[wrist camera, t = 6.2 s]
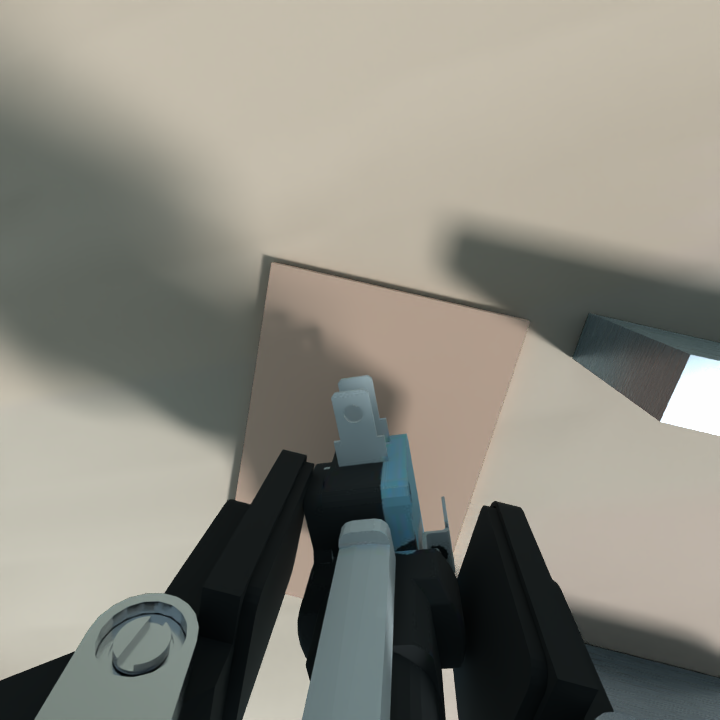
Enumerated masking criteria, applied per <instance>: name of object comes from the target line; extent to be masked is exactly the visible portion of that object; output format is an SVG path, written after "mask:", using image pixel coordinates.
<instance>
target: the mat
mask: <svg viewBox="0 0 720 720" xmlns="http://www.w3.org/2000/svg"><path fill="white" fill-rule="evenodd" d="M529 325H530V321H528V320H526V319H522V318H517V317H513V316H509V315H504V314H500V313H496V312H491V311H487V310H482V309H478V308H474V307H469V306H465V305H461V304H456V303H452V302H448V301H443V300H439V299H434V298H430V297H426V296H421V295H417V294H413V293H408V292H404V291H399V290H395V289H391V288H386V287H382V286H378V285H373V284H369V283H364V282H360V281H356V280H351V279H347V278H343V277H338V276H334V275H330V274H325V273H321V272H316V271H312V270H308V269H303V268H299V267H295V266H290V265H286V264H281V263H277V262H272V263H271V268H270V274H269V281H268V288H267V294H266V301H265V307H264V314H263V320H262V327H261V334H260V340H259V347H258V353H257V360H256V367H255V373H254V380H253V386H252V393H251V399H250V406H249V413H248V419H247V426H246V432H245V439H244V445H243V452H242V459H241V465H240V472H239V478H238V485H237V492H236V498H235V500H236V501H240V502H244V503H248V504H251V503H252V501H253V499H254V498H255V496H256V494H257V492H258V491H259V489H260V487H261V486H262V484H263V482H264V480H265V479H266V477H267V475H268V474H269V472H270V470H271V468H272V467H273V465H274V463H275V462H276V460H277V458H278V456H279V455H280V453H281V451H282V450H283V449H284V450H288V451H292V452H297V453H301V454H305V455H307V461H306V462H310V463H314V467H315V465H316V464H320V463H328V462H332V460H333V457H334V454H335V446H334V441H339V440H340V437H339V432H338V428H337V423H336V418H335V414H334V409H333V405H332V400H331V397H332V396H333V394H334V393H335V392H339V387H338V383H339V381H340V380H341V379H343V378H350V377H357V376H363V375H369V376H370V377H372V380H373V386H374V391H375V396H376V402H377V407H378V412H379V418H386V420H387V425H388V431H389V436H391V435H399V434H407V436H408V441H409V447H410V453H411V459H412V465H413V470H414V476H415V482H416V488H417V493H418V499H419V505H420V511H421V517H422V522H423V528H424V532H426V531H437V530H443V529H445V522H444V514H443V507H442V499H441V497H443V496H444V498H445V504H446V510H447V517H448V523H449V530H450V537H451V543H452V550H453V552H454V549H455V546H456V543H457V540H458V537H459V534H460V531H461V528H462V525H463V522H464V519H465V516H466V513H467V510H468V507H469V504H470V501H471V498H472V495H473V492H474V489H475V486H476V483H477V480H478V477H479V474H480V471H481V468H482V465H483V462H484V459H485V456H486V453H487V450H488V447H489V444H490V441H491V438H492V435H493V432H494V429H495V426H496V423H497V420H498V417H499V414H500V411H501V408H502V405H503V402H504V399H505V396H506V393H507V390H508V387H509V384H510V381H511V378H512V375H513V372H514V369H515V366H516V363H517V360H518V357H519V354H520V351H521V348H522V345H523V343H524V340H525V337H526V334H527V331H528V328H529ZM313 564H314V556H313V547H312V543H311V539H310V535H309V531H308V527H307V523H306V519H305V515H304V519H303V524H302V529H301V534H300V539H299V544H298V549H297V553H296V558H295V563H294V567H293V571H292V574H291V577H290V581H289V583H288V586H287V589H286V592H285V594H287V595H291V596H295V597H299V598H303V597H304V593H305V590H306V586H307V583H308V579H309V576H310V572H311V569H312V567H313Z"/></svg>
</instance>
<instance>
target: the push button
mask: <svg viewBox="0 0 720 720" xmlns="http://www.w3.org/2000/svg"><path fill="white" fill-rule="evenodd" d="M338 387H339V392H335V393H334V394H333V396H332V397H331V400H332V405H333V409H334V414H335V418H336V423H337V428H338V432H339V437H340V440H339V441H334V446H335V454H334V457H333V460H332V462H328V463H320V464H316V465H315V467H314V471H313V475H312V478H311V480H310V483H309V485H308V488H307V490H306V493H305V496H304V500H303V508H304V515H305V519H306V523H307V527H308V531H309V535H310V539H311V543H312V547H313V556H314V564H313V567H312V569H311V572H310V576H309V579H308V583H307V586H306V590H305V593H304V597H303V600H302V603H301V607H300V611H299V616H298V636H299V641H300V645H301V648H302V650H303V652H304V655H305V657H306V658H307V661H306V668H307V672H308V676H309V679H310V685H309V690H308V694H307V699H306V704H305V708H304V713H303V717H302V720H446V718H445V705H444V693H443V680H442V669H447V668H459V667H461V666H462V663H463V661H464V657H465V652H466V644H467V642H466V629H465V623H464V616H463V609H462V602H461V596H460V589H459V585H458V581H457V578H456V576H455V574H454V572H455V565H454V557H453V550H452V543H451V537H450V530H449V523H448V517H447V510H446V504H445V498H444V496H443V497H441V499H442V507H443V514H444V522H445V529H443V530H437V531H426V532H424V528H423V522H422V517H421V511H420V505H419V499H418V493H417V488H416V482H415V476H414V470H413V465H412V459H411V453H410V447H409V441H408V436H407V434H399V435H391V436H389V431H388V425H387V420H386V418H379V412H378V407H377V402H376V396H375V391H374V386H373V380H372V377H370V376H369V375H363V376H357V377H350V378H343V379H341V380H340V381H339V383H338Z"/></svg>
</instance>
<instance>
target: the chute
mask: <svg viewBox="0 0 720 720" xmlns="http://www.w3.org/2000/svg"><path fill="white" fill-rule="evenodd" d="M573 359H574V360H575V361H577V362H578V363H579V364H581V365H582V366H584V367H585V368H586V369H588V370H589V371H591V372H592V373H593V374H595V375H596V376H598V377H599V378H600V379H602V380H603V381H604V382H606V383H607V384H609V385H610V386H611V387H613V388H614V389H616V390H617V391H618V392H620V393H621V394H623V395H624V396H625V397H627V398H628V399H629V400H631V401H632V402H634V403H635V404H636V405H638V406H639V407H641V408H642V409H643V410H645V411H646V412H648V413H649V414H650V415H652V416H653V417H654V418H656V419H657V420H659V421H660V422H664V423H668V424H672V425H677V426H681V427H685V428H690V429H694V430H698V431H702V432H707V433H711V434H715V435H719V436H720V343H719V342H714V341H710V340H706V339H701V338H697V337H692V336H688V335H684V334H679V333H675V332H670V331H666V330H662V329H657V328H653V327H648V326H644V325H640V324H635V323H631V322H626V321H622V320H617V319H613V318H609V317H604V316H600V315H595V314H591V313H589V315H588V317H587V320H586V323H585V326H584V328H583V331H582V334H581V336H580V339H579V342H578V344H577V347H576V350H575V352H574V355H573ZM585 646H586V648H587V650H588V653H589V655H590V657H591V660H592V662H593V664H594V666H595V669H596V671H597V673H598V676H599V678H600V680H601V682H602V685H603V687H604V689H605V692H606V694H607V696H608V698H609V701H610V703H611V705H612V708H613V710H614V712H620V713H623V714H627V715H631V716H633V717H635V718H637V719H639V720H720V678H717V677H714V676H710V675H706V674H702V673H698V672H694V671H690V670H686V669H682V668H678V667H674V666H670V665H666V664H662V663H658V662H654V661H651V660H647V659H643V658H639V657H635V656H631V655H627V654H623V653H619V652H615V651H611V650H607V649H603V648H599V647H595V646H591V645H588V644H585Z"/></svg>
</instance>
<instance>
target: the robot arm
mask: <svg viewBox="0 0 720 720" xmlns="http://www.w3.org/2000/svg"><path fill="white" fill-rule="evenodd" d="M306 461H307V455H305V454H301V453H297V452H292V451H288V450H284V449H283V450H282V451H281V453H280V455H279V456H278V458H277V460H276V462H275V463H274V465H273V467H272V468H271V470H270V472H269V474H268V475H267V477H266V479H265V480H264V482H263V484H262V486H261V487H260V489H259V491H258V492H257V494H256V496H255V498H254V499H253V501H252V503H251V504H248V503H244V502H240V501H236V500H232V499H230V500H228V501H227V502H226V503H225V505H224V506H223V507H222V509H221V510H220V512H219V513H218V515H217V516H216V518H215V519H214V521H213V522H212V524H211V525H210V527H209V528H208V530H207V531H206V533H205V534H204V535H203V537H202V538H201V540H200V541H199V543H198V544H197V546H196V547H195V549H194V550H193V552H192V553H191V555H190V556H189V558H188V559H187V560H186V562H185V563H184V565H183V566H182V568H181V569H180V571H179V572H178V574H177V575H176V577H175V578H174V580H173V581H172V583H171V584H170V585H169V587H168V588H167V590H166V591H165V593H146V594H142V595H137V596H133V597H129V598H127V599H125V600H123V601H121V602H119V603H117V604H115V605H113V606H112V607H110V608H109V609H108V610H107V611H105V612H104V613H103V614H101V615H100V616H99V617H98V618H97V620H96V621H95V622H94V623H93V625H92V626H91V627H90V628H89V630H88V631H87V633H86V634H85V636H84V638H83V639H82V641H81V643H80V644H79V646H78V648H77V649H76V651H75V652H72V653H70V654H67V655H64V656H62V657H59V658H57V659H54V660H52V661H49V662H47V663H44V664H41V665H39V666H36V667H34V668H31V669H29V670H26V671H24V672H21V673H19V674H16V675H13V676H11V677H8V678H6V679H3V680H1V681H0V720H242V719H243V716H244V713H245V710H246V707H247V704H248V701H249V698H250V695H251V692H252V689H253V686H254V683H255V680H256V678H257V675H258V672H259V669H260V666H261V663H262V660H263V657H264V654H265V651H266V648H267V645H268V642H269V639H270V636H271V633H272V630H273V628H274V625H275V622H276V619H277V616H278V613H279V610H280V607H281V604H282V601H283V598H284V595H285V592H286V589H287V586H288V583H289V581H290V577H291V574H292V571H293V567H294V563H295V558H296V553H297V549H298V544H299V539H300V534H301V529H302V524H303V519H304V508H303V500H304V496H305V493H306V490H307V488H308V485H309V483H310V480H311V478H312V475H313V471H314V463H310V462H306ZM457 581H458V585H459V589H460V596H461V602H462V609H463V616H464V623H465V629H466V642H467V644H466V652H465V657H464V661H463V663H462V666H461V667H459V668H453V672H454V682H455V691H456V701H457V710H458V719H459V720H639V719H637V718H635V717H633V716H631V715H627V714H623V713H620V712H614V710H613V708H612V705H611V703H610V701H609V698H608V696H607V694H606V692H605V689H604V687H603V685H602V682H601V680H600V678H599V676H598V673H597V671H596V669H595V666H594V664H593V662H592V660H591V657H590V655H589V653H588V650H587V648H586V646H585V643H584V641H583V639H582V637H581V634H580V632H579V630H578V627H577V625H576V623H575V621H574V618H573V616H572V614H571V611H570V609H569V607H568V605H567V602H566V600H565V598H564V595H563V593H562V591H561V589H560V587H559V585H558V584H557V583H556V582H555V581H553V580H552V578H551V576H550V573H549V571H548V569H547V566H546V564H545V562H544V559H543V557H542V554H541V552H540V550H539V547H538V545H537V543H536V540H535V538H534V536H533V533H532V531H531V528H530V526H529V524H528V521H527V519H526V517H525V514H524V512H523V510H522V508H520V507H517V506H513V505H509V504H505V503H501V502H497V501H494V502H493V503H492V504H491V506H490V507H489V506H483V507H482V509H481V511H480V514H479V517H478V520H477V523H476V526H475V528H474V531H473V534H472V537H471V540H470V543H469V546H468V549H467V552H466V555H465V558H464V560H463V563H462V566H461V569H460V572H459V575H458V578H457Z"/></svg>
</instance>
